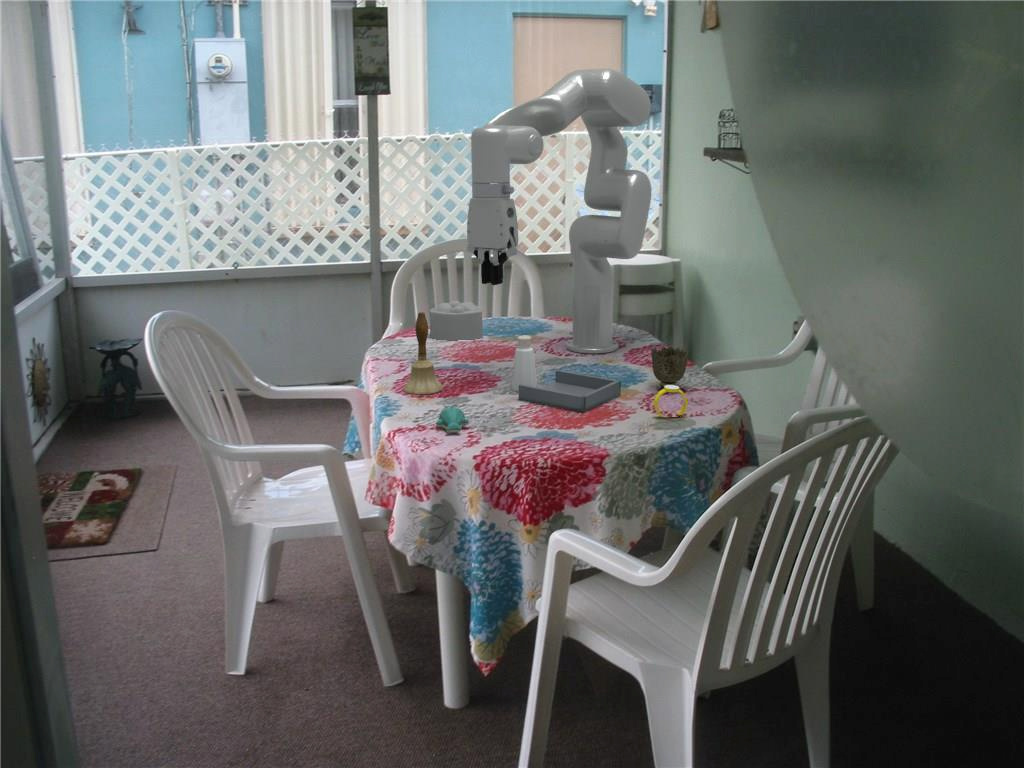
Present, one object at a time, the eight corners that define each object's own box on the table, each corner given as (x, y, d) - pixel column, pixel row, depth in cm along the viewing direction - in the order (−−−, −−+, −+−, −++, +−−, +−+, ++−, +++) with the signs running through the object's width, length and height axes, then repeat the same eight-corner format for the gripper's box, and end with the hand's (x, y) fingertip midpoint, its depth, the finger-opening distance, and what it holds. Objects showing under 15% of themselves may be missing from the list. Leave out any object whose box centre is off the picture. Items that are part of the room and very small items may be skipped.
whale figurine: (467, 422, 171) (467, 403, 170) (470, 435, 164) (469, 415, 163) (436, 424, 171) (435, 404, 170) (436, 437, 164) (436, 416, 163)
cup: (664, 395, 186) (665, 356, 184) (642, 386, 193) (644, 348, 191) (694, 390, 190) (696, 351, 188) (672, 381, 196) (673, 344, 194)
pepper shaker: (535, 393, 189) (535, 340, 186) (509, 391, 190) (508, 339, 187) (539, 385, 194) (539, 334, 191) (514, 384, 195) (513, 333, 192)
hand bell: (406, 383, 196) (403, 309, 192) (445, 383, 196) (443, 308, 192) (400, 395, 188) (397, 317, 184) (441, 395, 188) (439, 317, 184)
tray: (557, 383, 195) (557, 369, 194) (620, 395, 187) (620, 380, 186) (518, 399, 184) (518, 385, 183) (583, 412, 176) (583, 397, 175)
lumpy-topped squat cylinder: (484, 340, 234) (483, 306, 232) (432, 342, 232) (431, 308, 230) (478, 331, 244) (477, 298, 242) (428, 333, 242) (427, 300, 240)
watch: (682, 415, 175) (686, 385, 173) (687, 420, 172) (690, 389, 170) (651, 414, 174) (654, 384, 172) (655, 419, 171) (658, 388, 170)
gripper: (534, 192, 184) (534, 284, 189) (471, 189, 193) (473, 277, 198) (511, 194, 178) (512, 290, 183) (448, 191, 187) (450, 282, 192)
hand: (492, 283), depth 190 cm, fingers closed
